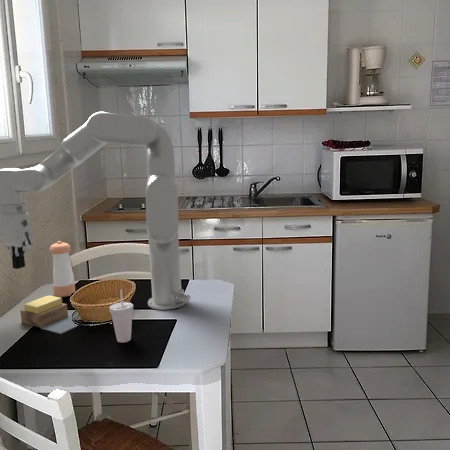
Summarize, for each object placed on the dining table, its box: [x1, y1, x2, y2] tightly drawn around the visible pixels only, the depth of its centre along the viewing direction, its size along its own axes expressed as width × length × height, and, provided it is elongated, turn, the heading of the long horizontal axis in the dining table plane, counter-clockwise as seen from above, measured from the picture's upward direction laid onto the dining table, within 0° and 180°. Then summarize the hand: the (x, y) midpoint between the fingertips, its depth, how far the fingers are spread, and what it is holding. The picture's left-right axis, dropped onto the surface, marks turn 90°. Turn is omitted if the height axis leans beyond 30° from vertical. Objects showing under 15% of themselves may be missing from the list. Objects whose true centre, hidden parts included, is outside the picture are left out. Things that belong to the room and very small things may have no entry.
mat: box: [40, 314, 80, 335], centre depth 147 cm, size 9×11×1 cm
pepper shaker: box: [49, 240, 76, 298], centre depth 174 cm, size 7×7×19 cm
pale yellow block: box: [23, 295, 63, 314], centre depth 151 cm, size 9×6×2 cm, turn 148°
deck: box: [19, 302, 69, 329], centre depth 151 cm, size 9×10×4 cm
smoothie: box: [108, 289, 134, 344], centre depth 134 cm, size 6×6×14 cm
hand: (19, 267), depth 153 cm, fingers closed
